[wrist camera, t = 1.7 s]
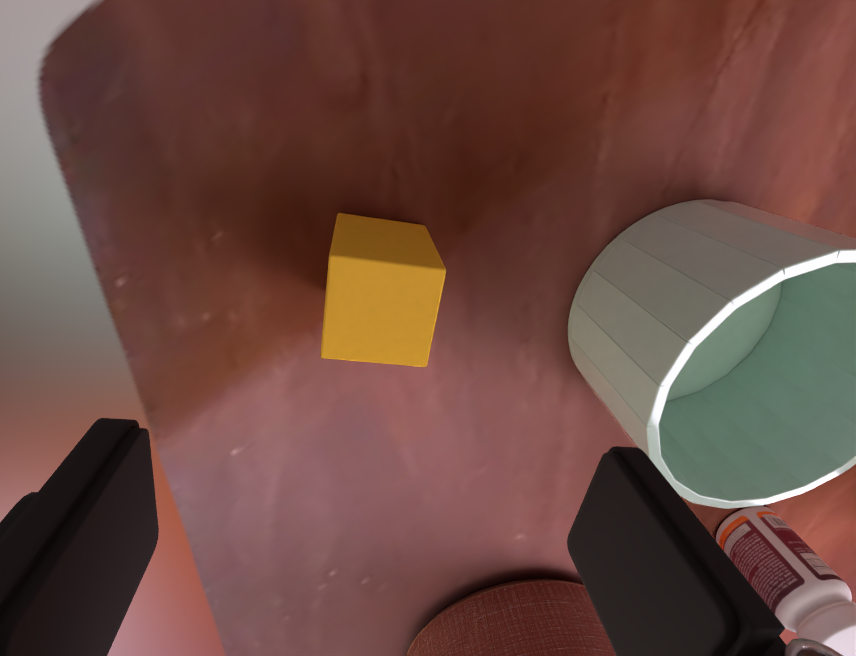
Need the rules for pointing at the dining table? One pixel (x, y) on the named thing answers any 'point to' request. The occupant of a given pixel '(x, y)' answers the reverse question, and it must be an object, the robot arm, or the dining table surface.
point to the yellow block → (381, 292)
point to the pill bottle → (790, 578)
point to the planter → (517, 623)
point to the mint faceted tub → (725, 349)
